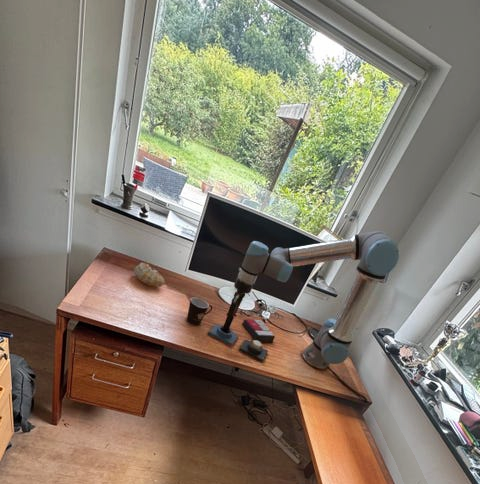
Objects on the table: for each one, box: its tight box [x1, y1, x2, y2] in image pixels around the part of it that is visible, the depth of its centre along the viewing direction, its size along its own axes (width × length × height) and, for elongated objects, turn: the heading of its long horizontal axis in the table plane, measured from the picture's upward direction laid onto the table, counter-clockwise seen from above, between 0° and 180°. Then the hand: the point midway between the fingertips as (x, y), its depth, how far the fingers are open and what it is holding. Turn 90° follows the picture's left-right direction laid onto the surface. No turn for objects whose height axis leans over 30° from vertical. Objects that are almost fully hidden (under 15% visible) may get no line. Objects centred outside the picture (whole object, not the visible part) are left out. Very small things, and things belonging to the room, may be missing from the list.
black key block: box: [238, 339, 269, 363], centre depth 159 cm, size 12×10×4 cm
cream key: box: [252, 339, 263, 349], centre depth 158 cm, size 4×4×2 cm
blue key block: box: [207, 323, 239, 347], centre depth 159 cm, size 12×10×4 cm
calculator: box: [242, 318, 276, 343], centre depth 174 cm, size 11×4×15 cm
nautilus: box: [133, 261, 166, 288], centre depth 169 cm, size 8×22×15 cm
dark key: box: [221, 325, 231, 333], centre depth 158 cm, size 4×4×2 cm
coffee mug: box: [186, 297, 213, 326], centre depth 157 cm, size 12×9×10 cm
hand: (226, 327), depth 157 cm, fingers closed
